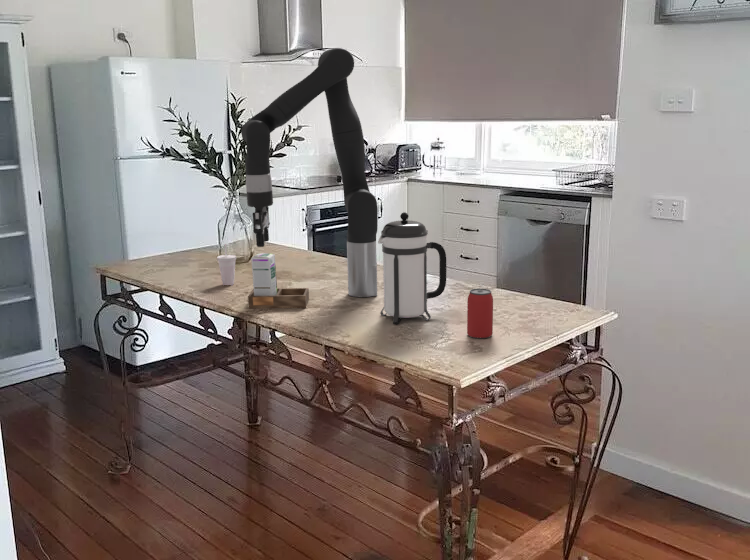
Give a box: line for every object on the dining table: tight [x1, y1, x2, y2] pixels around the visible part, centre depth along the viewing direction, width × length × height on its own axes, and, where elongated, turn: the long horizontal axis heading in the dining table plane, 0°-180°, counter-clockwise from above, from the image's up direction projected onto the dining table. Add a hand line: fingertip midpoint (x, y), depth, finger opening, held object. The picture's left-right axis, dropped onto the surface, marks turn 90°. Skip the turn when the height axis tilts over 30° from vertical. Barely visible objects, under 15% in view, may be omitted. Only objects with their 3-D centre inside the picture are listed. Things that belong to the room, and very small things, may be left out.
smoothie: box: [216, 243, 237, 286], centre depth 255 cm, size 6×6×14 cm
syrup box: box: [250, 252, 278, 296], centre depth 229 cm, size 6×6×14 cm
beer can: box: [466, 287, 494, 340], centre depth 196 cm, size 7×7×12 cm
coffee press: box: [377, 211, 447, 325], centre depth 212 cm, size 17×16×30 cm
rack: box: [247, 287, 310, 310], centre depth 231 cm, size 17×10×4 cm, turn 89°
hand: (263, 243), depth 227 cm, fingers open, 8 cm apart
